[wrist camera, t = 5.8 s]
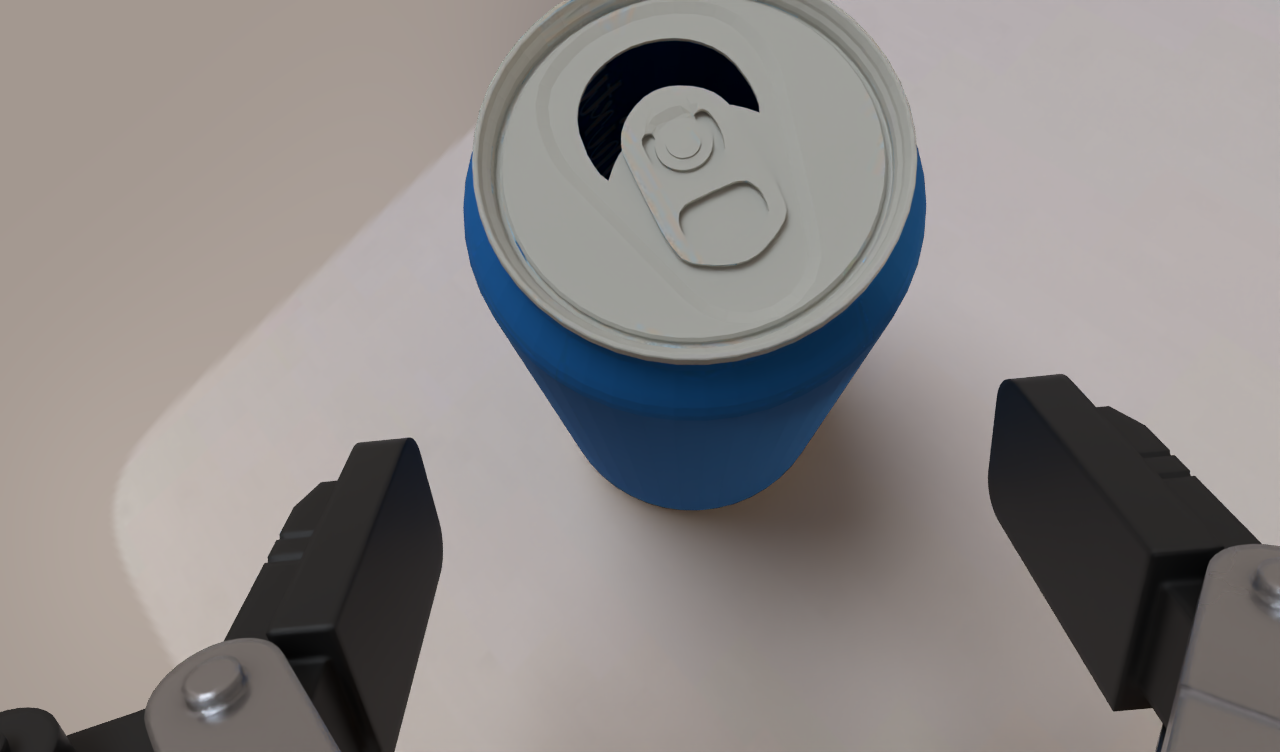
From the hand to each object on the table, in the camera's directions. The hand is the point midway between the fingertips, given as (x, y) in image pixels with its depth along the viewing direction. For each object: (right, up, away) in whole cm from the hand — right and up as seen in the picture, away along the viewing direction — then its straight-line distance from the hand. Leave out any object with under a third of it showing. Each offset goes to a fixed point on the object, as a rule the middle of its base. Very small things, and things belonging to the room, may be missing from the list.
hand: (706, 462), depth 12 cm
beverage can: (0, +1, +11) cm, 11 cm away
